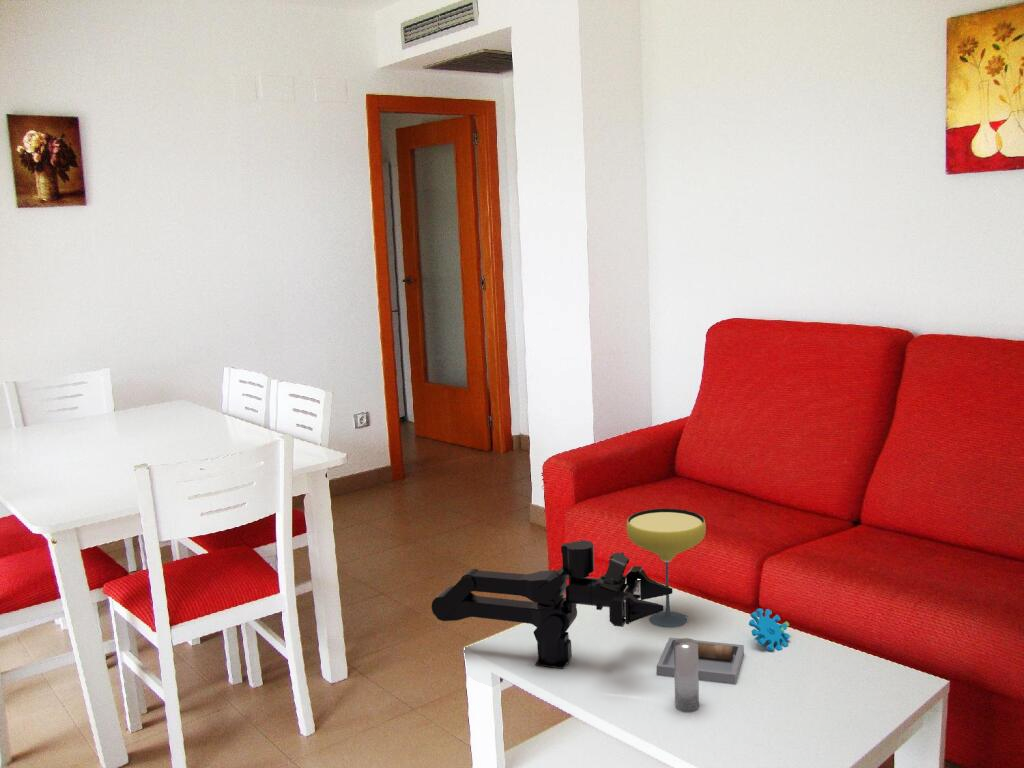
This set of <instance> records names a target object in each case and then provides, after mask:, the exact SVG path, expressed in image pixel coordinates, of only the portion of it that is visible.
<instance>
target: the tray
mask: <svg viewBox="0 0 1024 768" xmlns="http://www.w3.org/2000/svg"><path fill="white" fill-rule="evenodd" d="M677 639H681V638H680V637H679V638H677V637H671V636H670V637H668V639H667V642H666V644H665V647H664V648H663V650H662V653H661V655H660V657H659V659H658V661H657V663H656V676H661V677H670V678H674V641H675V640H677ZM694 640H695V641H697V642H698V644H699V643H707V644H716V645H726V646H733V659H732V661H729V660H720V659H711V658H702V657H698V674H699V681H702V682H703V681H704V682H711V683H719V684H728V685H736V684H737V680H738V678H739V677H738V676H739V673H740V670H741V666H742V662H743V659H744V655H745V649H744V648H745V645H743V644H737V643H725V642H717V641H706V640H699V639H694Z"/></svg>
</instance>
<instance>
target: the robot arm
mask: <svg viewBox="0 0 1024 768" xmlns="http://www.w3.org/2000/svg"><path fill="white" fill-rule="evenodd" d="M594 545H595V544H594V543H593V542H592V541H590V540H583V539H581V540H577V541H576V540H575V541H572V542H564V543H563V544H561V546H560V550H561V558H562V559H561V560H562V562H561V563H562V566H561V568H559V569H558V570H556V569H551V570H550V569H549V570H548V569H547V570H539V571H536V572H532V573H526V574H524V573H514V572H513V573H512V572H502V571H493V570H492V571H490V570H481V569H478V568H477V569H476V568H472V569H469V570H467V572H465V573H464V574H463V575H462V576H461V577H460V580H458V581H457V583H455V585H451V586H447V587H446V588H445V589H444V590H443V591H442V592H441V593H439V594H438V595H437V596H436V597H435V598H434V599H433V600H432V602H431V611H432V614H433V615H434V616H435V617H436V619H437V620H439V621H441V622H457V621H459V620H463V619H464V620H465V619H468V618H478V619H479V618H480V619H488V620H494V621H495V620H496V621H506V622H514V623H522V624H530V625H533V626H534V627H535V630H534V631H532V632H533V635H534V638H535V640H536V642H537V643H536V644H537V645H536V647H537V659H536V661H535V666H540V667H548V668H549V667H550V668H556V669H558V668H559V669H564V668H565V667H566V665H567V664H568V663H570V662H569V661H570V660H571V659H572V658H573V655H572V653H573V652H572V650H573V649H572V640H571V639H570V636H569V632H568V630H569V628H570V627H571V625H572V624H573V623H574V621H575V620H576V618H577V617H578V609H577V605H584V606H594V607H595V608H596V610H597V611H602V610H603V608H608V609H609V611H608V613H609V615H608V616H609V622H610V623H611V624H612V626H614V627H621V628H623V627H624V626H625V625H629V624H631V623H633V622H637V621H638V620H641V619H643V618H647V617H649V616H650V617H651V616H652V615H654V614H656V613H659V612H664V611H665V609H664V608H665V607H664V605H663V604H659V603H657V602H652V601H648V600H649V599H653V598H658V597H664V596H666V595H669V596H670V595H671V594H673V588H672V587H670V586H669V587H668V586H666V584H663V583H660V582H658V581H655V580H653V579H651V578H650V577H649V576H648V574H646V571H645V569H644V568H643V566H636V565H634V566H632V567H630V569H629V570H628V572H627V573H626V575H624V574H625V572H626V568H627V565H628V564H629V563H630V560H631V559H630V557H628V556H626V555H625V553H624V552H622V551H621V552H619V551H616V552H615V553H611V554H610V559H609V560H608V563H609V564H608V568H607V569H606V572H605V573H604V574H602V575H601V576H600V577H599V578H597V577H590V576H591V573H593V572H595V552H594V551H595V549H594V548H595V546H594ZM567 581H568V582H567ZM473 592H477V593H478V592H479V593H487V594H488V593H490V594H500V595H512V596H521V597H523V598H526V599H527V601H525V600H517V599H508V598H502V597H501V598H500V597H492V596H491V597H489V596H482V595H481V596H480V595H476V594H474V593H473ZM564 594H565V597H564ZM528 600H529V601H528ZM646 600H647V601H646Z"/></svg>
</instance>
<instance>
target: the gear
mask: <svg viewBox="0 0 1024 768" xmlns="http://www.w3.org/2000/svg"><path fill="white" fill-rule="evenodd" d="M763 613H764V615H763ZM772 613H773V612H772V610H770V609H769V608H767V609H765V611H764V609H763V608H757V609H756V610H755V611H753V612H752V613H751V614H750V617H751V618H752V619H750V620H749V622H748V625H749V626H750V627H753V629H752V630H751V635H752V636H753V637H754V640H756V641H757V643H758V644H759V645H760V646H763V645H765V643H766V642H768V643H769V644H768V645H767V646H766V649H767V650H768V651H769V652H772V651H773V650H774V649H775V650H776V651H782V650H783V647H784V648H786V647H788V646H789V642H787V641H788V640H789V639H790V637H791V635H790V634H789V633H786V632H785V631H787V628H788V627H789V626H790V623H789V622H788V621H785V622H783V623H782V624H780V623H778V622H779V621H780V620H781V617H780V616H779V615H778V614H775V616H773V618H770V616H771V615H772ZM774 645H776V646H775V647H774Z"/></svg>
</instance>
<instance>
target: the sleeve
mask: <svg viewBox="0 0 1024 768" xmlns="http://www.w3.org/2000/svg"><path fill="white" fill-rule="evenodd" d="M695 640H696V639H694V638H693V639H692V638H688V637H686V638H685V637H682V638H680V639H677V640H675V641H674V677H673V678H674V706H675V709H676V710H678V711H680V712H684V713H694V712H696V711H698V710H699V709H700V691H699V690H700V684H699V681H700V680H699V674H698V642H697V641H695ZM693 711H694V712H693Z"/></svg>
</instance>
